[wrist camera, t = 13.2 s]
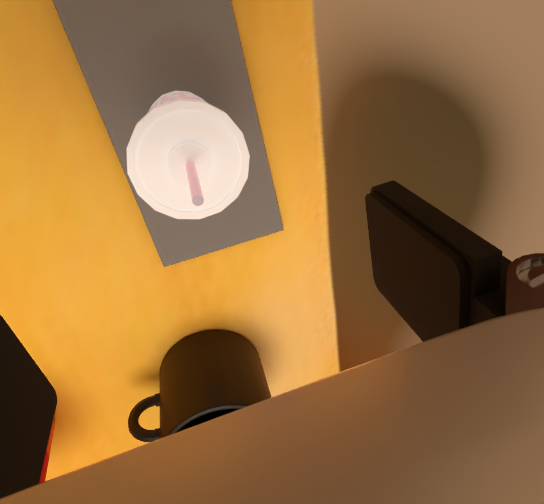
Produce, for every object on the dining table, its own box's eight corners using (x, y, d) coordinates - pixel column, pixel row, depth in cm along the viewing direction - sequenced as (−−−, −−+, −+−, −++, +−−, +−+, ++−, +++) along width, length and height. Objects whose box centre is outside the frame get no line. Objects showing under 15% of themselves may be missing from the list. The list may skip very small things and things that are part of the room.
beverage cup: (168, 185, 31) (175, 290, 19) (114, 108, 28) (81, 176, 16) (242, 142, 30) (296, 220, 19) (196, 59, 27) (225, 90, 15)
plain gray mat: (42, -28, 24) (40, -29, 24) (213, -69, 25) (214, -71, 24) (163, 263, 34) (164, 266, 34) (281, 226, 35) (283, 229, 35)
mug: (123, 340, 37) (114, 425, 29) (259, 321, 39) (284, 395, 32) (137, 416, 41) (133, 507, 34) (259, 395, 44) (281, 475, 36)
